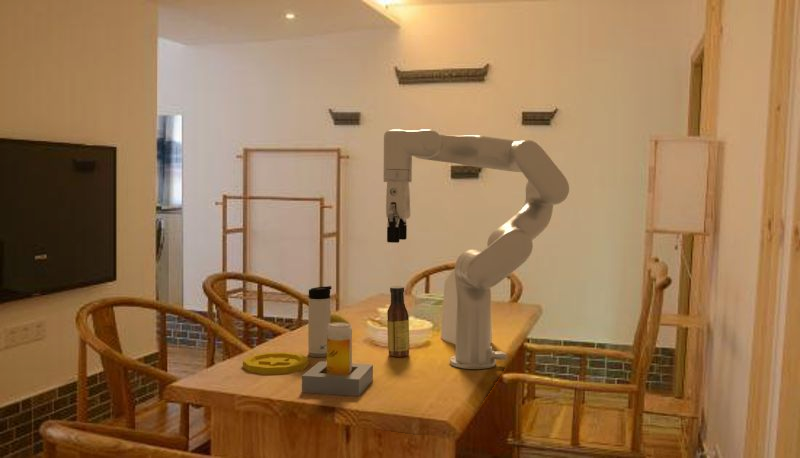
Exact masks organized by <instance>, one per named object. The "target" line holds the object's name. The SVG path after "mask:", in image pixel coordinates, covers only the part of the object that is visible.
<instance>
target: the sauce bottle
mask: <svg viewBox="0 0 800 458" xmlns="http://www.w3.org/2000/svg"><path fill="white" fill-rule="evenodd" d="M389 292H390V305H389V306H388V309H387V313H386V314H387V320H386V321H387V323H386V326H387V351H388V355H389V356H390V357H394V358H405V357H408V356H409V354H410V348H411V347H410V321H409V319H410V317H409V312H408V309H407V307H406V304H405V296H404V295H405V287H404V286H399V285H397V286H396V285H395V286H390V287H389Z"/></svg>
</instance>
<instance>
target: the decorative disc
mask: <svg viewBox="0 0 800 458" xmlns="http://www.w3.org/2000/svg"><path fill="white" fill-rule="evenodd" d="M309 360H310V359H309V358H308V357H307V356H305V355H303V354H302V353H296V352H295V353H294V352H287V351H279V352H278V351H274V352H271V351H270V352H262V353H257V354H252V355H248V356H247V357H245V359H243V360H242V368H244V370H246V371H248V372H251V373H255V374H256V373H257V374H263V375H272V374H273V375H278V373H281V374H290V373H293V372H294V371H295V372H298V370H299V371H302V370H305V368H307V366H308V365H309Z"/></svg>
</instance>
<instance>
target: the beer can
mask: <svg viewBox="0 0 800 458" xmlns="http://www.w3.org/2000/svg"><path fill="white" fill-rule="evenodd" d="M352 360H353V328H352V326H351V322H349V323H346V322H334V323H330V324H329V326H328V328H327V357H326V362H327V374H340V375H350V374H351V373H352V363H353V361H352Z"/></svg>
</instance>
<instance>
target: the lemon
mask: <svg viewBox="0 0 800 458" xmlns="http://www.w3.org/2000/svg"><path fill="white" fill-rule="evenodd" d="M334 322H346V323H350V322H349V321H348V320H346V319H345V318H344V316H343V317H342V316H340V315H337V314H335V313H334V314H332V313H330V323H334Z"/></svg>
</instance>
